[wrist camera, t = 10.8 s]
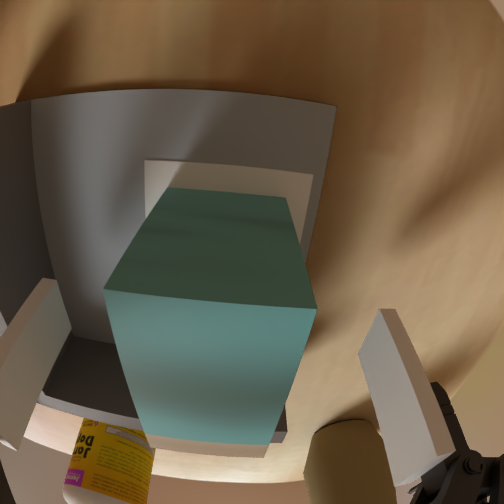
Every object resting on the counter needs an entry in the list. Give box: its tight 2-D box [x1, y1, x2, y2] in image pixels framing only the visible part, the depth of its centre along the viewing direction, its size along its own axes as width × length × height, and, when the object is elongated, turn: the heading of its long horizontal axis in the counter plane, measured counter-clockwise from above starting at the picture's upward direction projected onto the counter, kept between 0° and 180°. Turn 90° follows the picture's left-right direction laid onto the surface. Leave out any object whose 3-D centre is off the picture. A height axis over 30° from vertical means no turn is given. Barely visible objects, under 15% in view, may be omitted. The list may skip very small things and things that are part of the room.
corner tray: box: [0, 89, 337, 443], centre depth 13 cm, size 16×15×5 cm
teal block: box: [103, 187, 317, 458], centre depth 12 cm, size 9×5×7 cm, turn 174°
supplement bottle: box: [63, 418, 156, 504], centre depth 18 cm, size 7×7×13 cm
